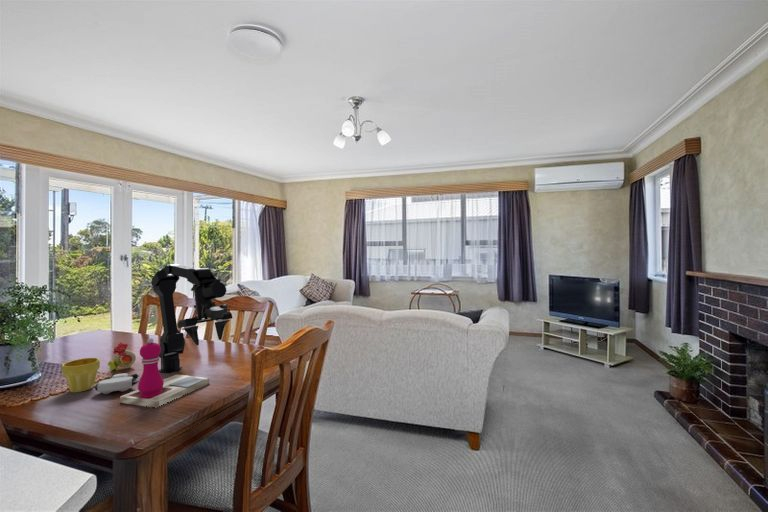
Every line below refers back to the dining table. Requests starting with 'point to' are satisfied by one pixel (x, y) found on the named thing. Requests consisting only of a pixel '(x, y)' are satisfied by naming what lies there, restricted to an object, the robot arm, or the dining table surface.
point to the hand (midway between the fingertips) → (209, 342)
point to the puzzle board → (167, 391)
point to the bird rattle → (126, 359)
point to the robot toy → (116, 383)
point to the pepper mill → (150, 371)
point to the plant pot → (81, 373)
